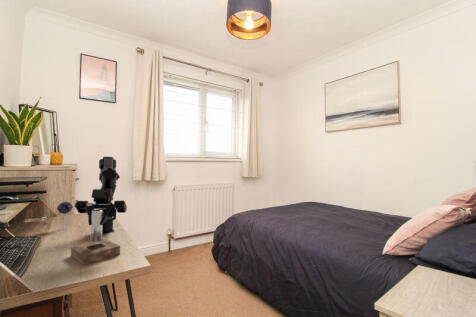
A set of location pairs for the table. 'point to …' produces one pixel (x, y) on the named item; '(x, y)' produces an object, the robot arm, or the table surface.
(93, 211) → the translucent grey tall block
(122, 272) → the table surface
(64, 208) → the lollipop
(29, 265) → the table surface
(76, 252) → the socket block
